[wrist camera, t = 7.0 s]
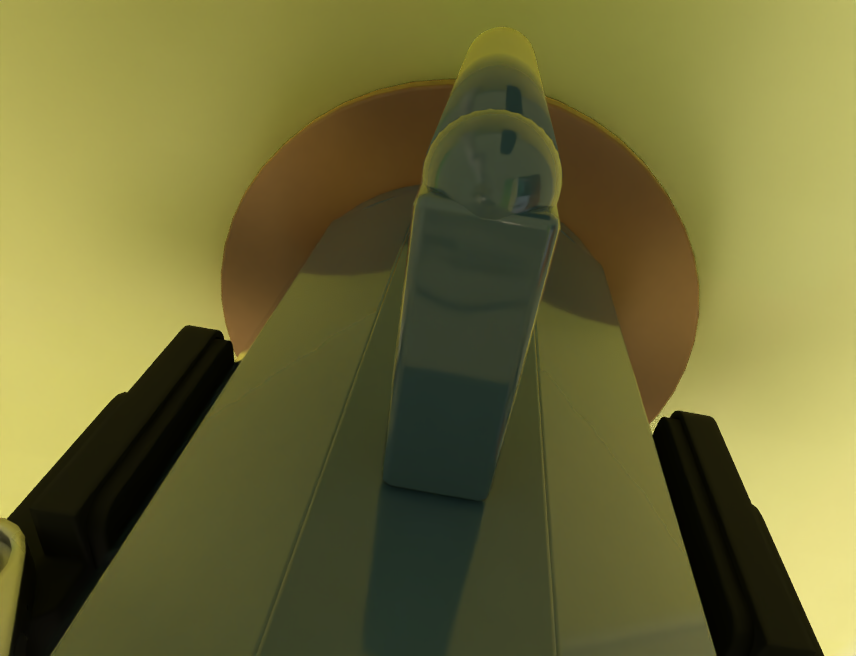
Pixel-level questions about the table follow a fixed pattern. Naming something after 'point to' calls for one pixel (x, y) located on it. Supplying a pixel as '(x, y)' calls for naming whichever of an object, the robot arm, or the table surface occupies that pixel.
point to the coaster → (402, 166)
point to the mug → (419, 438)
